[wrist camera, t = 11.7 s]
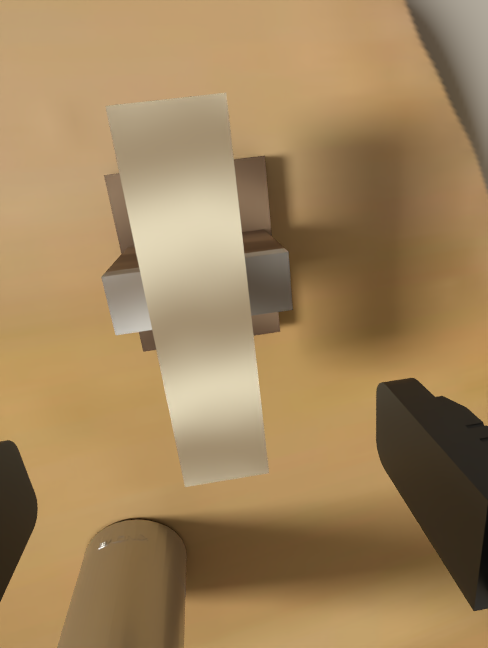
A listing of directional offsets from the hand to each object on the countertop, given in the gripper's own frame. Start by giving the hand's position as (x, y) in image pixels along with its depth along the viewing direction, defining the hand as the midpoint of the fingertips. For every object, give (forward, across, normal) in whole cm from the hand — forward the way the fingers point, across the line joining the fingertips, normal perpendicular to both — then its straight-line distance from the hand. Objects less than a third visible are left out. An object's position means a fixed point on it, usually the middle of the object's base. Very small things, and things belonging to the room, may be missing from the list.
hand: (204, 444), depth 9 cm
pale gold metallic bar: (+12, 0, 0) cm, 12 cm away
